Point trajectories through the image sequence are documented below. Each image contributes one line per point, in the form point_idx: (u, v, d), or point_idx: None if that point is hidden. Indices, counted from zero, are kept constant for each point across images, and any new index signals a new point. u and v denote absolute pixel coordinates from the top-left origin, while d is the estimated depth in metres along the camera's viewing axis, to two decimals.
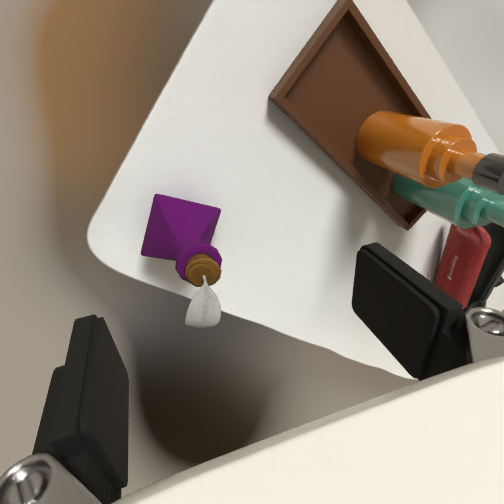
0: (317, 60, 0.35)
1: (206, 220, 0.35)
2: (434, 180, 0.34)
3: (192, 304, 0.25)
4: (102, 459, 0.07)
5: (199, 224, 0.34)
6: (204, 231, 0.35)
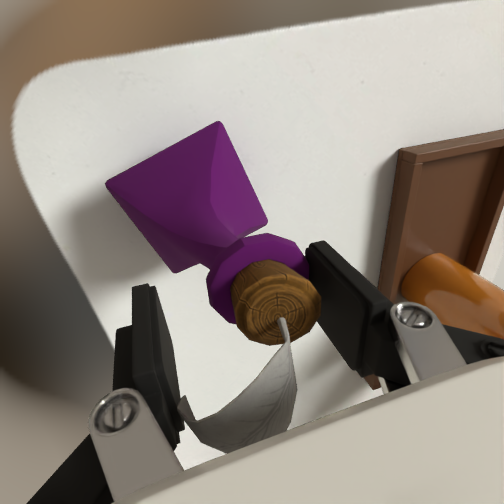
0: (457, 161, 0.29)
1: (251, 220, 0.20)
2: None
3: (258, 384, 0.08)
4: (169, 400, 0.09)
5: (244, 217, 0.19)
6: (242, 233, 0.19)
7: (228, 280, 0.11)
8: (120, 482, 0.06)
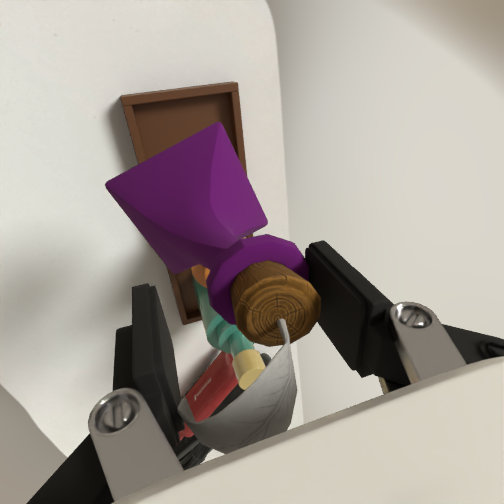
0: (186, 108, 0.34)
1: (251, 221, 0.20)
2: (204, 277, 0.32)
3: (258, 386, 0.08)
4: (170, 400, 0.09)
5: (243, 218, 0.19)
6: (242, 234, 0.19)
7: (228, 281, 0.11)
8: (120, 482, 0.06)
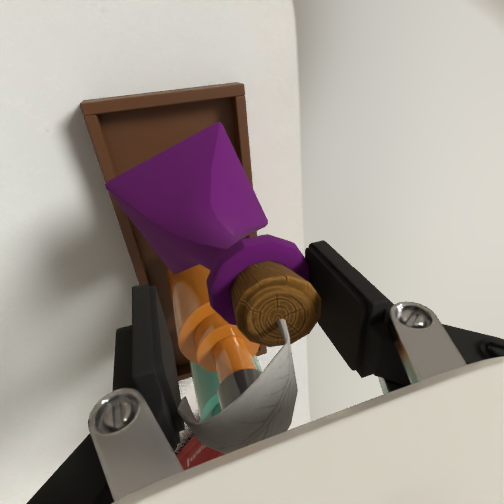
0: (174, 118, 0.25)
1: (251, 221, 0.20)
2: None
3: (258, 386, 0.08)
4: (169, 400, 0.09)
5: (244, 218, 0.19)
6: (242, 234, 0.19)
7: (228, 281, 0.11)
8: (120, 482, 0.06)
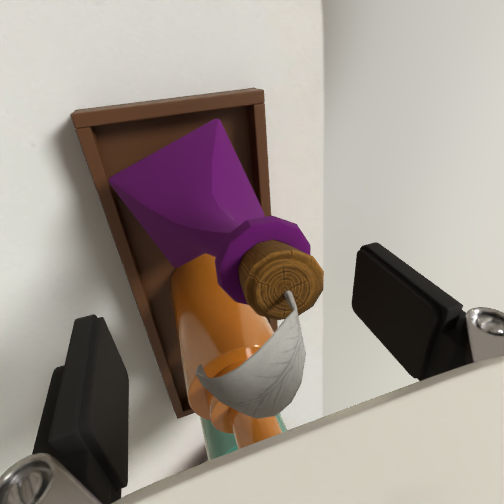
0: (181, 130, 0.22)
1: (249, 213, 0.21)
2: None
3: (273, 343, 0.09)
4: (102, 459, 0.07)
5: (243, 209, 0.20)
6: None
7: (236, 260, 0.12)
8: None
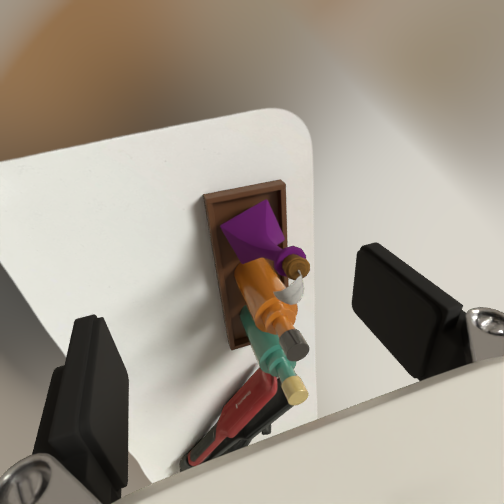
0: (247, 200, 0.47)
1: (279, 239, 0.46)
2: (262, 325, 0.45)
3: (295, 282, 0.34)
4: (102, 459, 0.07)
5: (277, 238, 0.45)
6: (276, 245, 0.45)
7: (281, 260, 0.38)
8: None
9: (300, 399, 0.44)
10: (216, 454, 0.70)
